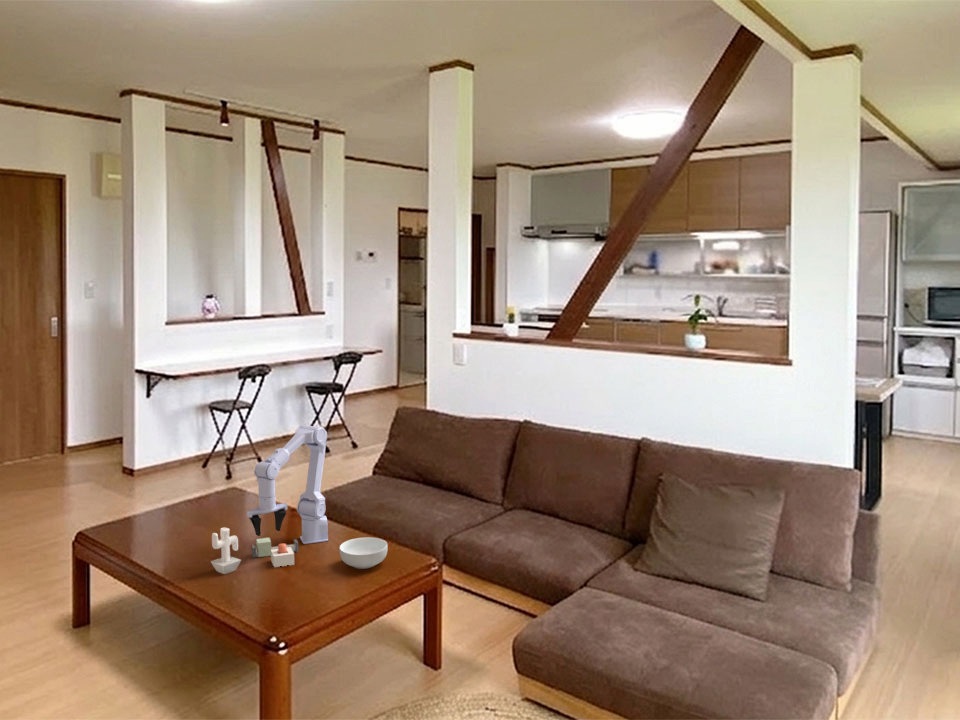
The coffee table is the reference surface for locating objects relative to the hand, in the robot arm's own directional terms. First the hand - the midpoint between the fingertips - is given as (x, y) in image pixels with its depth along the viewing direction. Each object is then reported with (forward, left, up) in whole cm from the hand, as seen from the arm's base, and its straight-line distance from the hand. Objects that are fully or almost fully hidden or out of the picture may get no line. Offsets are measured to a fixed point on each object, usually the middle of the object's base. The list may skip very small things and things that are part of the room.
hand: (268, 532), depth 276 cm
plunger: (-4, +5, -7) cm, 10 cm away
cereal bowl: (-30, +18, -10) cm, 36 cm away
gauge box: (-4, +5, -10) cm, 12 cm away
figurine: (+15, +6, -10) cm, 19 cm away
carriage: (+1, -5, -10) cm, 11 cm away
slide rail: (-3, -5, -10) cm, 11 cm away
